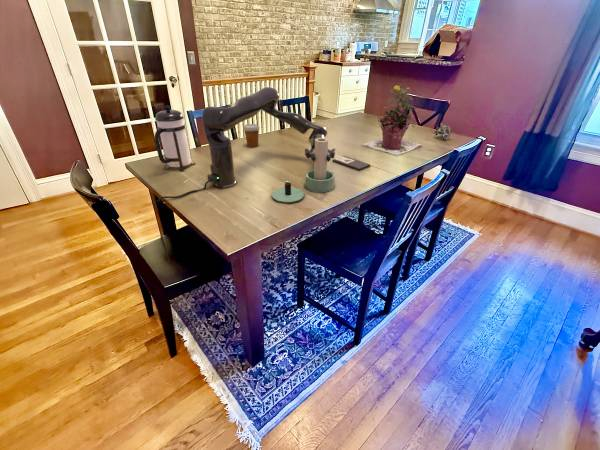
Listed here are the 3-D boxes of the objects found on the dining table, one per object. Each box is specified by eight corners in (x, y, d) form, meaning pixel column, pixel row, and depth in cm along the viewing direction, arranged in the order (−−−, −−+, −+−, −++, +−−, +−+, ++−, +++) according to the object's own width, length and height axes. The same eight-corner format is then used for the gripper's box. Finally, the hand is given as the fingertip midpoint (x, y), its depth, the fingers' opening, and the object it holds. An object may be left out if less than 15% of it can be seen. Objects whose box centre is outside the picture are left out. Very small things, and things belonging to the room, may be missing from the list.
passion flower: (443, 148, 201) (446, 136, 190) (428, 142, 206) (430, 130, 195) (452, 135, 203) (456, 123, 192) (436, 130, 208) (439, 117, 197)
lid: (270, 203, 123) (269, 190, 120) (273, 189, 134) (272, 176, 131) (304, 203, 123) (304, 190, 120) (304, 189, 134) (304, 176, 131)
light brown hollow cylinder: (320, 183, 132) (322, 142, 123) (311, 180, 136) (312, 140, 126) (328, 179, 136) (330, 139, 126) (319, 176, 139) (320, 137, 129)
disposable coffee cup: (263, 145, 187) (262, 125, 181) (251, 149, 181) (250, 128, 175) (253, 142, 193) (252, 123, 186) (241, 145, 187) (239, 125, 180)
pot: (305, 192, 132) (305, 180, 129) (305, 180, 142) (305, 169, 140) (334, 192, 132) (335, 180, 129) (332, 180, 142) (333, 169, 139)
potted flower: (396, 155, 172) (408, 88, 153) (362, 145, 188) (369, 83, 169) (421, 146, 187) (435, 84, 168) (387, 137, 203) (396, 79, 184)
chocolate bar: (359, 168, 152) (332, 159, 163) (359, 170, 153) (332, 161, 164) (370, 164, 157) (343, 155, 169) (370, 166, 158) (343, 157, 169)
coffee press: (161, 164, 160) (146, 103, 144) (193, 159, 165) (182, 101, 150) (163, 175, 147) (146, 110, 131) (197, 171, 152) (185, 107, 136)
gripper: (334, 154, 144) (337, 167, 130) (303, 154, 144) (304, 167, 130) (335, 138, 140) (338, 150, 126) (303, 138, 140) (304, 150, 126)
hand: (321, 159), depth 128 cm, fingers closed on light brown hollow cylinder, 5 cm apart
